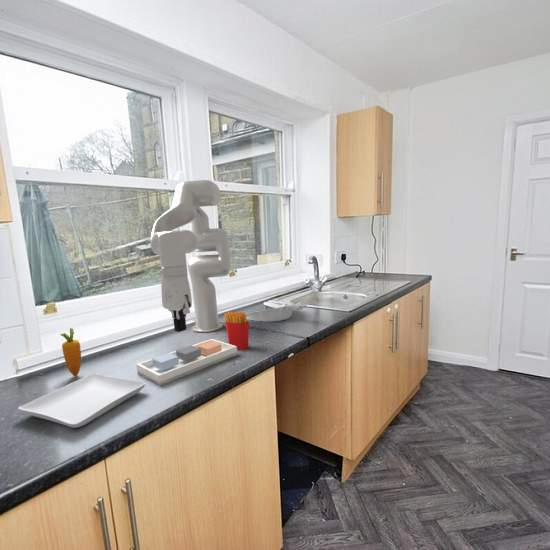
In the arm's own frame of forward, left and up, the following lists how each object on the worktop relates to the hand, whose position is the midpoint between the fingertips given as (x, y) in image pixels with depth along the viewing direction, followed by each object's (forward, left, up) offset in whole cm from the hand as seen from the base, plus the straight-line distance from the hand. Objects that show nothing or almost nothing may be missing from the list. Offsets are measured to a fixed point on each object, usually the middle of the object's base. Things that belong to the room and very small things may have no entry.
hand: (180, 330), depth 108 cm
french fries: (+1, +21, -12) cm, 24 cm away
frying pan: (-11, +57, -12) cm, 59 cm away
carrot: (-22, -25, -12) cm, 35 cm away
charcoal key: (0, +2, -9) cm, 10 cm away
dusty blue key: (0, -6, -9) cm, 11 cm away
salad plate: (+1, -29, -12) cm, 31 cm away
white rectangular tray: (0, +2, -12) cm, 12 cm away
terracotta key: (0, +10, -10) cm, 14 cm away
